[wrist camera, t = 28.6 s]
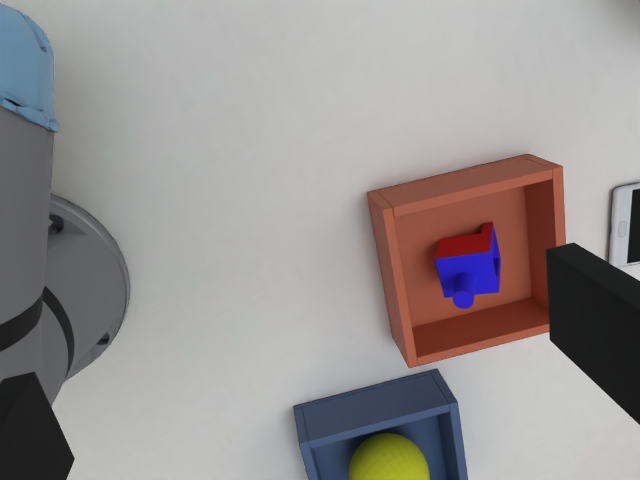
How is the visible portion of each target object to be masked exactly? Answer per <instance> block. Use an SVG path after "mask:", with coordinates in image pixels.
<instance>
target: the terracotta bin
mask: <svg viewBox="0 0 640 480" xmlns="http://www.w3.org/2000/svg"><path fill="white" fill-rule="evenodd" d="M367 198H368V203H369V209H370V215H371V220H372V226H373V231H374V237H375V242H376V248H377V254H378V259H379V265H380V270H381V276H382V282H383V287H384V293H385V298H386V304H387V309H388V315H389V321H390V326H391V332H392V337H393V339H394V341H395V343H396V345H397V346H398V348H399V350H400V352H401V354H402V356H403V358H404V360H405V362H406V364H407V365H408V367H409V368H412V367H416V366H418V365H419V366H420V365H424V364H428V363H431V362H435V361H439V360H443V359H447V358H451V357H455V356H458V355H462V354H466V353H470V352H474V351H478V350H481V349H485V348H489V347H493V346H497V345H501V344H505V343H508V342H512V341H516V340H520V339H524V338H528V337H531V336H535V335H539V334H543V333H547V332H549V309H548V287H547V264H546V249H549V248H553V247H557V246H562V245H566V236H565V211H564V187H563V166H560V165H558V164H555V163H552V162H550V161H547V160H544V159H541V158H539V157H536V156H533V155H530V154H525V155H521V156H517V157H512V158H508V159H504V160H500V161H496V162H491V163H487V164H483V165H479V166H475V167H471V168H466V169H462V170H458V171H454V172H450V173H445V174H441V175H437V176H433V177H429V178H424V179H420V180H416V181H412V182H408V183H404V184H399V185H395V186H391V187H387V188H383V189H378V190H374V191H370V192H367ZM490 222H493V224H494V229H495V234H496V238H497V243H498V248H499V252H500V257H501V270H500V286H499V293H491V294H481V295H474V302H473V305H472V306H471V307H469V308H467V309H461V308H458V307H457V306H455V305H454V303H453V300H452V298H453V297H451V298H444V294H443V290H442V286H441V283H440V279H439V275H438V271H437V268H436V264H435V260H434V258H435V255H436V251H437V248H438V244H439V240H440V239H444V238H451V237H458V236H464V235H471V234H478V233H482V225H483V224H484V223H490Z"/></svg>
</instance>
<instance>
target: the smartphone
mask: <svg viewBox="0 0 640 480" xmlns="http://www.w3.org/2000/svg"><path fill="white" fill-rule="evenodd" d="M609 263H610V264H611V265H613V266H615V267H617V268H619V267H624V266H629V265H635V264H640V183H638V184H632V185H627V186H621V187H618V188H616V189H615V190H614V192H613V204H612V220H611V235H610V251H609Z"/></svg>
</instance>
